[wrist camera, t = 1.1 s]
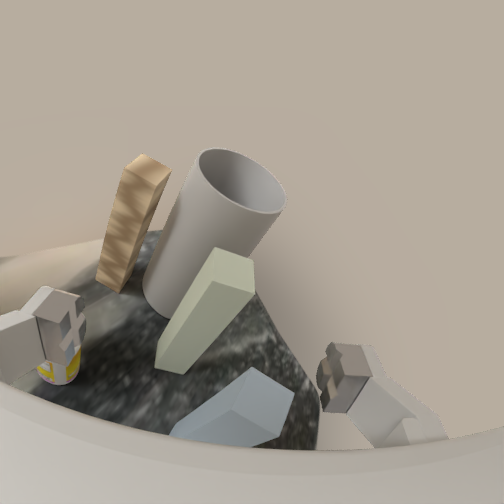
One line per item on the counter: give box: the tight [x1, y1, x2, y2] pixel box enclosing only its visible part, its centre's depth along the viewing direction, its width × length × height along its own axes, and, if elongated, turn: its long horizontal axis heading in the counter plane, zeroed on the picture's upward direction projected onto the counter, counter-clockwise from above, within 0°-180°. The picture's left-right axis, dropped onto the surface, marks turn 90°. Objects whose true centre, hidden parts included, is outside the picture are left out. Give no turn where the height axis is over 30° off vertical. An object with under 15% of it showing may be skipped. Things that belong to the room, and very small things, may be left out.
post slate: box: [169, 367, 295, 447], centre depth 31 cm, size 4×4×22 cm
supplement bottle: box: [36, 344, 81, 385], centre depth 32 cm, size 7×7×13 cm
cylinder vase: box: [142, 148, 287, 320], centre depth 47 cm, size 12×12×25 cm
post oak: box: [96, 154, 172, 293], centre depth 43 cm, size 4×4×22 cm
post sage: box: [154, 247, 255, 375], centre depth 39 cm, size 4×4×22 cm
